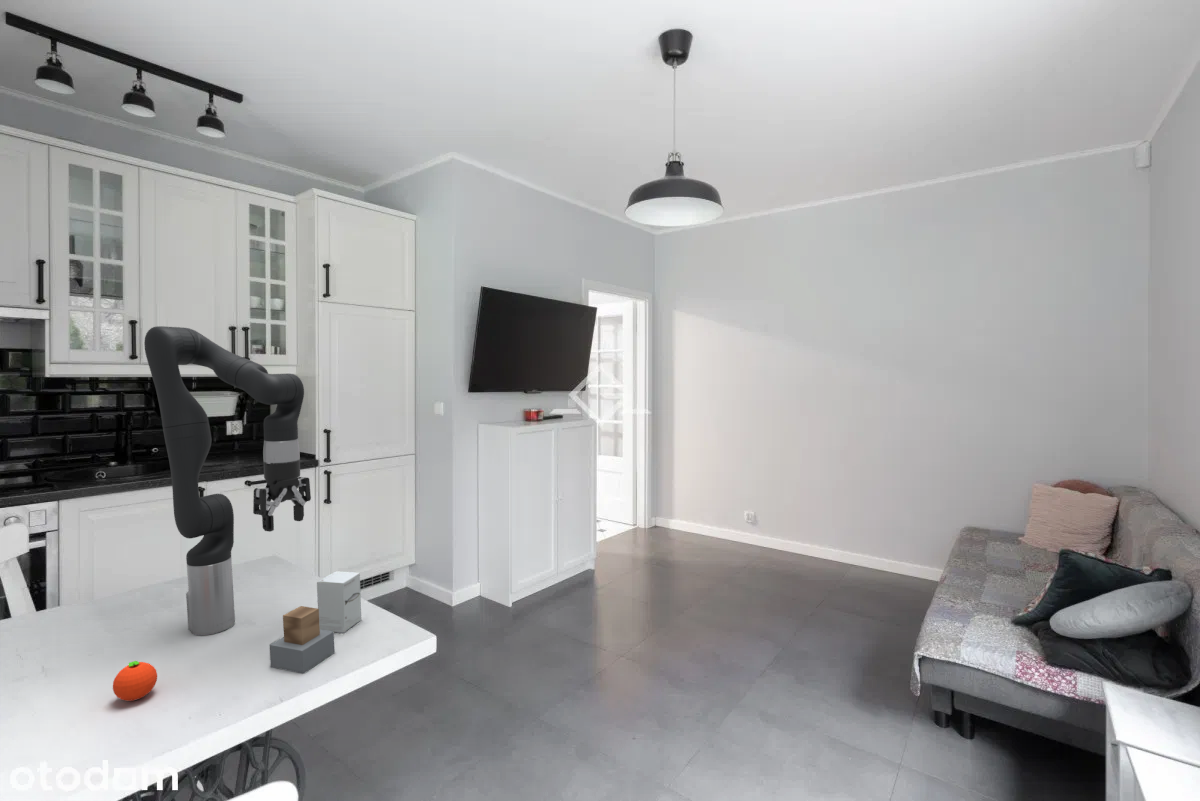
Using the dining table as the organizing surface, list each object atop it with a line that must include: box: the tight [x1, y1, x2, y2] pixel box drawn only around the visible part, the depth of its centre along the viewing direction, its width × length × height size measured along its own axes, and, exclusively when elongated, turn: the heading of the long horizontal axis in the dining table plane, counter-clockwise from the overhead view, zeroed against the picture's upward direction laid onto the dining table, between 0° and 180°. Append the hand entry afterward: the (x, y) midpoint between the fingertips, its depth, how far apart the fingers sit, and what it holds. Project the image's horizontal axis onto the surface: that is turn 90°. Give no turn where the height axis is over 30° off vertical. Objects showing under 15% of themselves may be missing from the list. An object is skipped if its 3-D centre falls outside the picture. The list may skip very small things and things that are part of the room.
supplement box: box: [316, 570, 362, 634], centre depth 145 cm, size 7×7×13 cm
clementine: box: [112, 660, 158, 702], centre depth 115 cm, size 8×7×7 cm
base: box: [269, 629, 336, 674], centre depth 129 cm, size 9×9×5 cm
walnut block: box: [282, 605, 320, 645], centre depth 128 cm, size 5×5×6 cm
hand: (284, 525), depth 138 cm, fingers open, 8 cm apart
